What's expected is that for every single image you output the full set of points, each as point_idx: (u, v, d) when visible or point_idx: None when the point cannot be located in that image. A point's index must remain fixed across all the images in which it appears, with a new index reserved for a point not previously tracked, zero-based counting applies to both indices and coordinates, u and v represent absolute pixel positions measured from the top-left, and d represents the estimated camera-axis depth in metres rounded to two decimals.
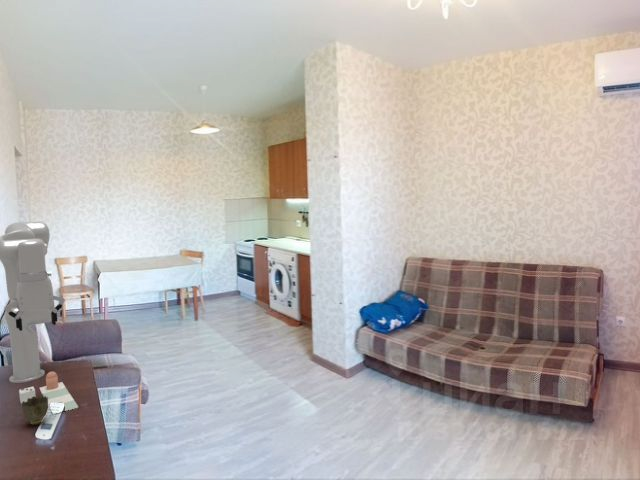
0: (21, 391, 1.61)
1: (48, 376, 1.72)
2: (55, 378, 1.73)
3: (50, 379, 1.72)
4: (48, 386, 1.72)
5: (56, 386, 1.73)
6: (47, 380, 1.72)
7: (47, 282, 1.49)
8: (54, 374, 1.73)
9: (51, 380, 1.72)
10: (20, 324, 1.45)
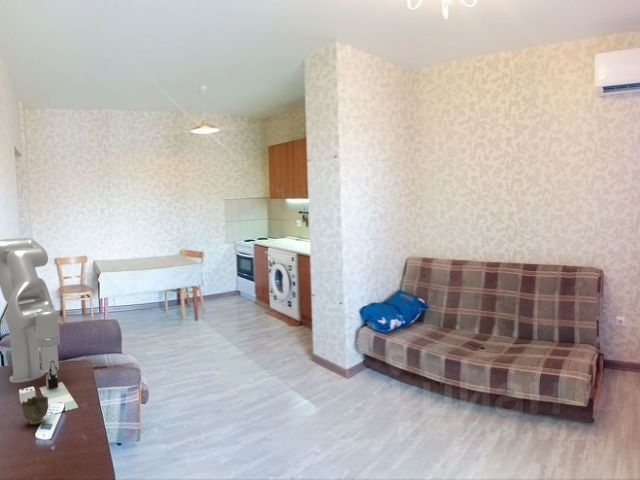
0: (21, 391, 1.61)
1: None
2: None
3: None
4: None
5: None
6: (47, 380, 1.72)
7: None
8: None
9: None
10: None
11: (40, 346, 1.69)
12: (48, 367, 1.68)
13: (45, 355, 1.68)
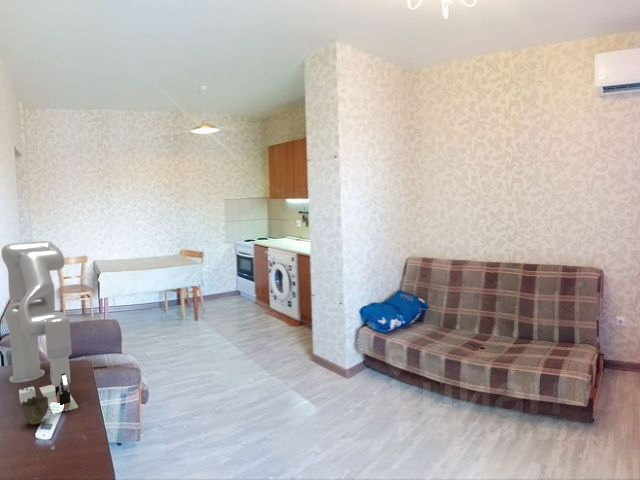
0: (21, 391, 1.61)
1: None
2: None
3: None
4: None
5: (68, 405, 1.56)
6: (58, 399, 1.55)
7: None
8: None
9: None
10: None
11: (50, 357, 1.52)
12: (59, 381, 1.51)
13: (55, 367, 1.51)
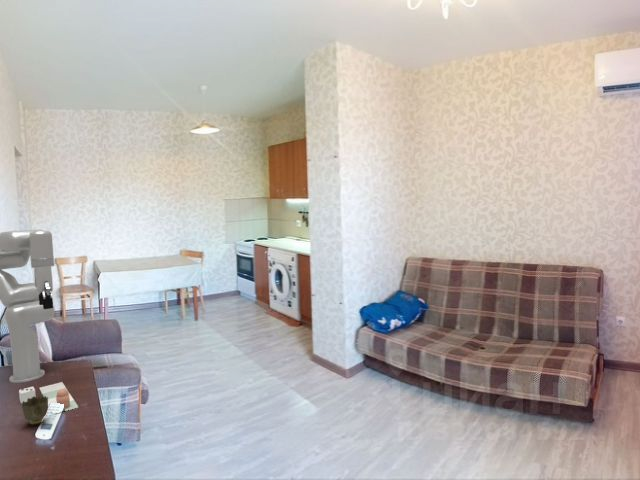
0: (21, 391, 1.61)
1: (59, 394, 1.55)
2: (67, 396, 1.56)
3: (61, 398, 1.55)
4: None
5: (68, 405, 1.56)
6: (58, 399, 1.54)
7: None
8: (65, 392, 1.56)
9: (62, 399, 1.55)
10: None
11: (34, 266, 1.65)
12: (42, 287, 1.65)
13: (39, 275, 1.64)
